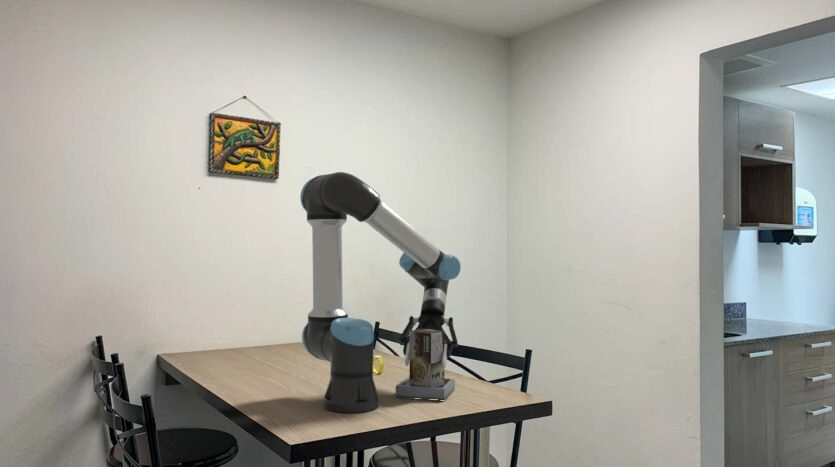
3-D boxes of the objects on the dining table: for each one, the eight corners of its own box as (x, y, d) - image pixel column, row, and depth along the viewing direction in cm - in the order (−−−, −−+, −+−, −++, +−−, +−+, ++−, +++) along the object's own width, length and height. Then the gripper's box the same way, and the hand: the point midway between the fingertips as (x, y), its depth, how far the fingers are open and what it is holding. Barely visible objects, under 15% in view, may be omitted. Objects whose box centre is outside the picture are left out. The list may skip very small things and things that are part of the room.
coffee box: (445, 385, 183) (445, 330, 183) (430, 388, 178) (431, 333, 178) (422, 380, 189) (423, 328, 189) (408, 383, 184) (408, 329, 185)
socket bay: (444, 401, 174) (444, 389, 174) (395, 397, 178) (395, 385, 178) (454, 390, 188) (454, 378, 188) (409, 387, 192) (409, 375, 192)
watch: (385, 374, 212) (385, 357, 212) (378, 375, 210) (379, 358, 210) (375, 370, 217) (376, 354, 217) (368, 371, 215) (369, 354, 215)
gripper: (470, 314, 197) (465, 372, 181) (399, 312, 201) (388, 369, 185) (468, 299, 192) (463, 358, 176) (396, 297, 196) (385, 355, 180)
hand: (425, 364), depth 181 cm, fingers closed on coffee box, 11 cm apart
